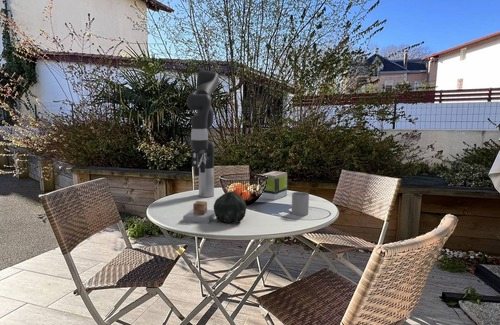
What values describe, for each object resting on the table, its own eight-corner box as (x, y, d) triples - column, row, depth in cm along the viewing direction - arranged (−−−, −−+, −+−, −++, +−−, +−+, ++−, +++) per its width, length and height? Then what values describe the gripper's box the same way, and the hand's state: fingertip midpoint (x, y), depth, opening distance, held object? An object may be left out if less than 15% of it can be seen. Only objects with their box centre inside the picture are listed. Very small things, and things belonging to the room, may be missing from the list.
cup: (297, 216, 151) (298, 196, 150) (288, 212, 159) (288, 192, 157) (311, 214, 155) (312, 194, 154) (301, 210, 163) (302, 191, 161)
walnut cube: (207, 211, 149) (206, 201, 148) (203, 214, 144) (203, 204, 143) (196, 211, 150) (196, 201, 149) (193, 214, 145) (193, 203, 144)
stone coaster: (192, 213, 154) (192, 208, 154) (216, 215, 152) (216, 210, 152) (183, 221, 142) (183, 216, 142) (208, 223, 140) (208, 217, 140)
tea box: (273, 193, 200) (274, 170, 198) (287, 195, 194) (288, 172, 192) (260, 197, 188) (260, 173, 186) (274, 200, 182) (275, 175, 180)
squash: (229, 202, 155) (217, 183, 145) (255, 207, 148) (245, 188, 138) (215, 226, 148) (202, 208, 138) (242, 233, 140) (231, 215, 130)
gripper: (202, 140, 135) (202, 177, 137) (212, 138, 148) (212, 171, 151) (185, 139, 136) (186, 176, 138) (196, 137, 150) (197, 171, 152)
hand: (199, 174), depth 144 cm, fingers open, 8 cm apart
